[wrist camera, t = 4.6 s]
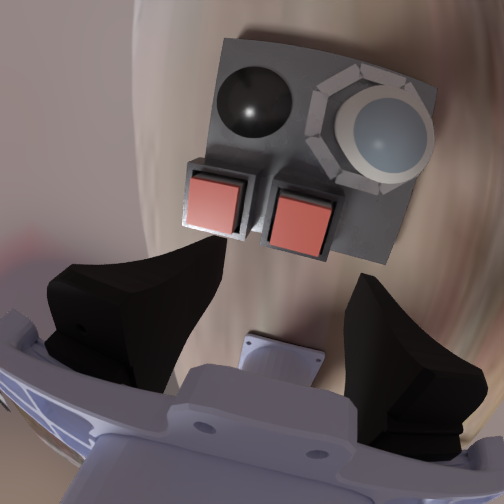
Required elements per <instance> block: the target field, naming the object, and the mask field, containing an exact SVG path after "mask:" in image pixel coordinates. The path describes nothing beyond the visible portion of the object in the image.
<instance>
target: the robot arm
mask: <svg viewBox="0 0 504 504" xmlns="http://www.w3.org/2000/svg"><path fill="white" fill-rule="evenodd" d="M226 245H227V238H223V237H219V236H215V235H213V236H210V237H207V238H205V239H202V240H200V241H198V242H195V243H193V244H190V245H188V246H185V247H183V248H180V249H177V250H175V251H172V252H169V253H166V254H163V255H160V256H156V257H152V258H148V259H144V260H139V261H133V262H126V263H119V264H106V265H83V264H72V265H70V266H69V267H68V268H66V269H65V270H64V271H63V272H61V273H60V274H59V275H58V276H56V277H55V278H54V279H53V280H51V281H50V282H49V284H48V287H47V299H48V304H49V307H50V311H51V314H52V317H53V320H54V323H55V326H56V329H57V330H56V331H55V332H54V333H53V334H52V335H51V336H50V337H49V338H48V339H47V340H46V341H44V340H42V339H41V338H39V335H38V331H37V329H36V327H35V325H34V323H33V322H32V321H31V320H30V319H29V318H28V317H26V316H25V315H23V314H22V313H20V312H19V311H17V310H16V309H14V308H12V309H11V310H10V311H9V312H8V313H7V314H6V315H4V316H3V317H2V318H1V319H0V389H1V390H2V391H3V392H4V393H5V394H6V395H8V396H9V397H10V398H11V399H12V400H13V401H14V402H15V403H16V404H17V405H19V406H20V407H21V408H22V409H23V410H24V411H25V412H27V413H28V414H29V415H30V416H31V417H32V418H34V419H35V420H36V421H37V422H38V423H40V424H41V425H42V426H43V427H44V428H46V429H47V430H48V431H49V432H51V433H52V434H53V435H54V436H56V437H57V438H58V439H60V440H61V441H62V442H64V443H65V444H66V445H68V446H69V447H71V448H72V449H73V450H75V451H76V452H78V453H79V454H81V455H82V456H84V457H85V458H86V459H85V461H84V463H83V464H82V466H81V468H80V469H79V471H78V473H77V474H76V476H75V478H74V479H73V481H72V483H71V484H70V486H69V488H68V489H67V491H66V493H65V494H64V496H63V498H62V500H61V501H60V503H59V504H487V503H488V502H490V501H492V500H494V499H496V498H497V497H499V496H500V495H502V494H504V441H503V437H502V436H495V437H486V438H482V439H480V440H478V441H476V442H475V443H474V444H473V445H471V446H470V447H469V449H468V450H462V449H461V444H460V438H459V434H462V433H463V425H462V423H463V422H464V421H465V420H466V419H467V418H468V417H469V416H470V415H471V414H472V413H473V412H474V411H475V410H476V409H477V408H478V407H479V406H480V405H481V403H482V402H483V401H484V399H485V397H486V395H487V392H488V386H487V382H486V380H485V377H484V374H483V371H482V369H480V368H478V367H476V366H474V365H472V364H470V363H468V362H467V361H465V360H463V359H461V358H460V357H458V356H456V355H455V354H453V353H452V352H450V351H449V350H447V349H446V348H444V347H443V346H442V345H440V344H439V343H438V342H436V341H435V340H434V339H433V338H431V337H430V336H429V335H428V334H427V333H425V332H424V331H423V330H422V329H421V328H420V327H419V326H418V325H417V324H416V323H415V322H414V321H413V320H412V319H411V318H410V317H409V316H408V315H407V314H406V313H405V311H404V310H403V309H402V308H401V307H400V306H399V305H398V303H397V302H396V301H395V300H394V299H393V297H392V296H391V295H390V294H389V293H388V291H387V290H386V289H385V288H384V286H383V285H382V284H381V283H380V282H379V281H378V280H377V278H375V277H374V276H371V275H367V274H363V273H361V274H360V277H359V279H358V282H357V284H356V286H355V289H354V291H353V294H352V296H351V299H350V301H349V303H348V306H347V308H346V310H345V319H344V347H345V368H346V380H345V391H344V396H342V395H339V394H337V393H334V392H331V391H329V390H324V389H319V388H314V387H310V386H311V384H312V382H313V380H314V378H315V376H316V374H317V372H318V371H319V369H320V367H321V365H322V363H323V361H324V359H325V353H324V352H322V351H318V350H313V349H309V348H305V347H301V346H297V345H292V344H288V343H284V342H280V341H276V340H273V339H269V338H265V337H261V336H258V335H254V334H247V335H246V336H245V340H244V344H243V349H242V353H241V358H240V362H239V367H238V369H237V368H234V367H230V366H223V365H215V364H204V365H201V366H198V367H194V368H191V369H190V370H189V372H188V374H187V376H186V378H185V380H184V382H183V384H182V386H181V388H180V390H179V392H178V394H177V396H172V395H167V394H163V392H164V390H165V388H166V385H167V383H168V381H169V378H170V376H171V373H172V371H173V369H174V367H175V365H176V362H177V360H178V358H179V356H180V354H181V351H182V349H183V347H184V345H185V343H186V341H187V339H188V337H189V335H190V334H191V332H192V330H193V329H194V327H195V326H196V324H197V323H198V321H199V319H200V318H201V316H202V315H203V313H204V312H205V310H206V309H207V307H208V305H209V304H210V302H211V301H212V299H213V297H214V296H215V293H216V291H217V289H218V287H219V285H220V282H221V280H222V275H223V267H224V260H225V253H226ZM248 341H250V342H248Z"/></svg>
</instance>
